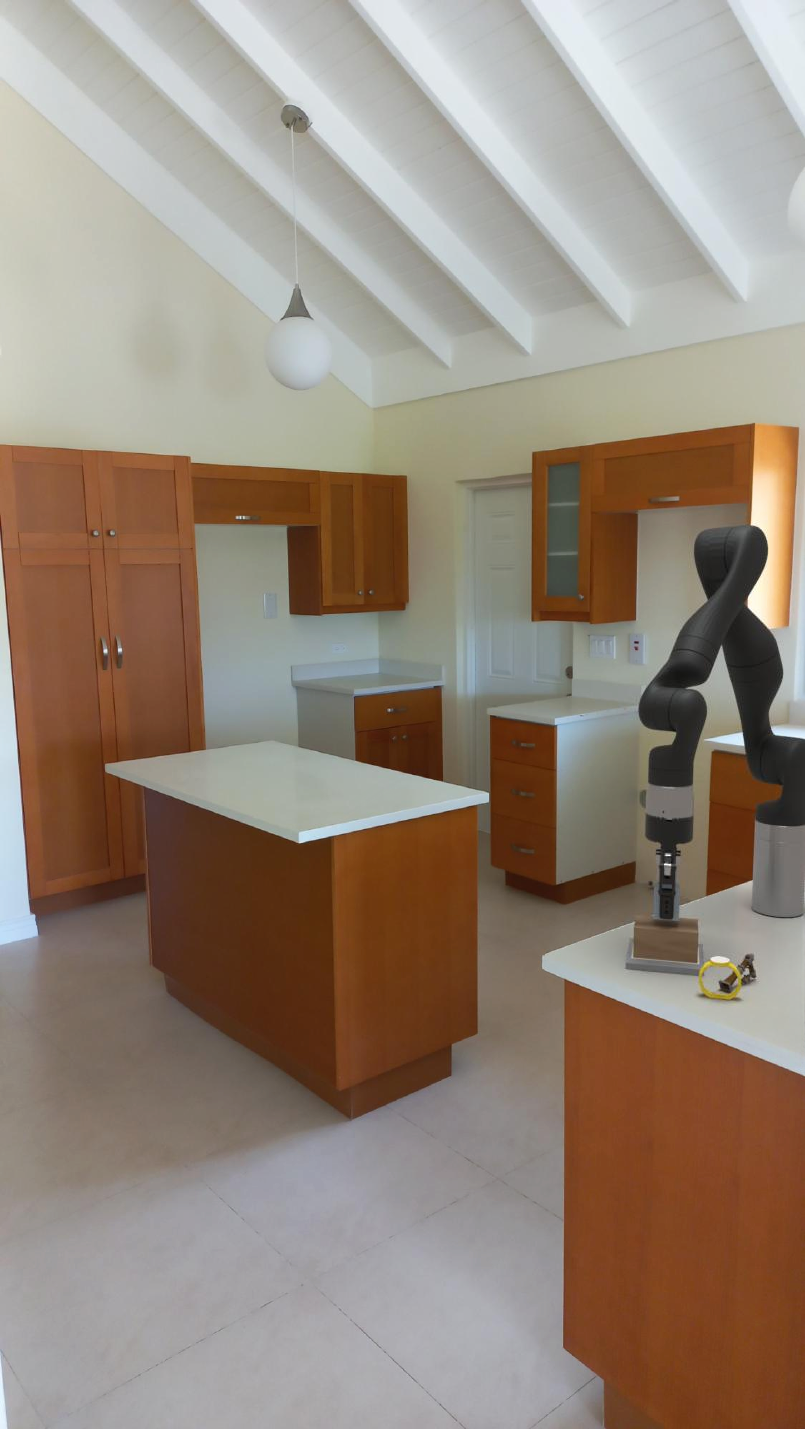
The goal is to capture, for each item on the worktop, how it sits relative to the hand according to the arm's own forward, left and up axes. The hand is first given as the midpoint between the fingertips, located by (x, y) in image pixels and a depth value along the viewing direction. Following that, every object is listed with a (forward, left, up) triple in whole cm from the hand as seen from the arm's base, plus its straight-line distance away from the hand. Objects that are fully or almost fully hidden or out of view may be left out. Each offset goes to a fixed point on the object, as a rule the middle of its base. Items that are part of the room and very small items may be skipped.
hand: (666, 913), depth 163 cm
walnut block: (0, 0, -7) cm, 7 cm away
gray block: (0, 0, 0) cm, 0 cm away
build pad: (0, 0, -8) cm, 8 cm away
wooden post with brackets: (+8, +11, -8) cm, 16 cm away
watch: (+14, +8, -8) cm, 18 cm away
